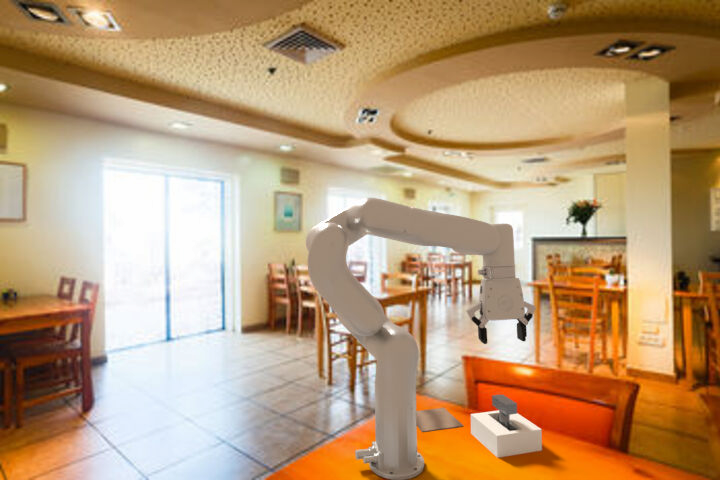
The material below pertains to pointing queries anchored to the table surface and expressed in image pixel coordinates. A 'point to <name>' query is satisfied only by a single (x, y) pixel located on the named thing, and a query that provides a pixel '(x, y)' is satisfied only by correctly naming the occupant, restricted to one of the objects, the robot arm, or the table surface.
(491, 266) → the robot arm
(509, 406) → the t key
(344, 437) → the table surface
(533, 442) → the block
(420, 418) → the grey flat square plate
